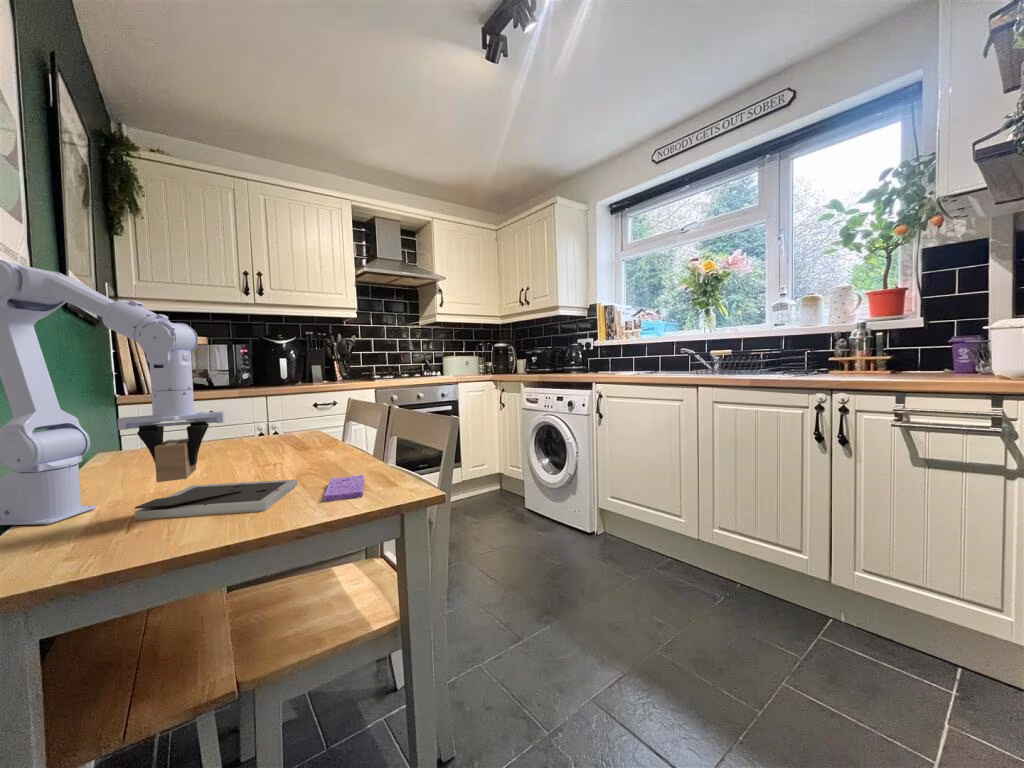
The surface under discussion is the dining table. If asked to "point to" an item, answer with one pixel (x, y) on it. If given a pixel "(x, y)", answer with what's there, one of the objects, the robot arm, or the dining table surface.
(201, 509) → the picture frame
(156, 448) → the walnut block
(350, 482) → the sponges
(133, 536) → the dining table surface
